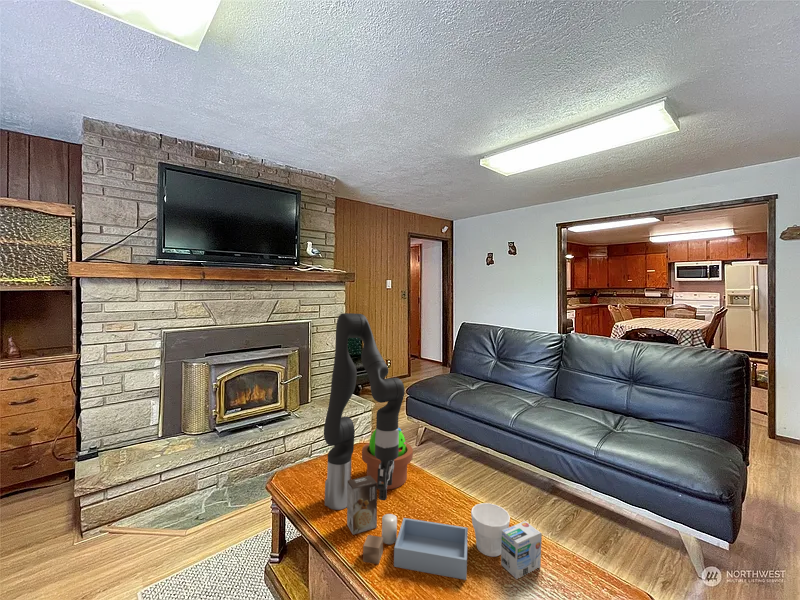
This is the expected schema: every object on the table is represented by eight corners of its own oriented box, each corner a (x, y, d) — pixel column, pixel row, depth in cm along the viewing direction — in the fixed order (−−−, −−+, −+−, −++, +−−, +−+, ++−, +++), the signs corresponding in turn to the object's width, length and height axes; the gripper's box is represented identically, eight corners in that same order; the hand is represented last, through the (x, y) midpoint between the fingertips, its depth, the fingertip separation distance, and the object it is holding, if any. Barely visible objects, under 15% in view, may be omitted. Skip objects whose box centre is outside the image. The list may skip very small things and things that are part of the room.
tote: (393, 566, 106) (394, 547, 106) (403, 534, 120) (403, 517, 120) (466, 579, 102) (466, 560, 101) (467, 545, 116) (467, 527, 116)
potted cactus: (351, 479, 155) (352, 423, 155) (385, 462, 172) (386, 411, 171) (387, 499, 141) (389, 437, 140) (421, 478, 157) (422, 423, 157)
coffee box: (370, 517, 129) (371, 474, 129) (377, 528, 123) (378, 482, 123) (346, 524, 125) (347, 479, 124) (352, 535, 119) (353, 488, 119)
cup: (503, 567, 106) (504, 531, 106) (464, 551, 113) (465, 517, 113) (513, 543, 117) (514, 510, 117) (477, 529, 124) (478, 498, 123)
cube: (363, 561, 108) (363, 545, 108) (367, 550, 113) (368, 534, 112) (378, 564, 107) (379, 548, 107) (382, 552, 112) (383, 537, 111)
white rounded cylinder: (380, 542, 116) (380, 522, 116) (383, 533, 121) (384, 512, 121) (394, 545, 115) (395, 524, 115) (397, 535, 120) (398, 515, 120)
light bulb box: (516, 580, 102) (517, 543, 102) (499, 564, 108) (500, 530, 108) (541, 567, 107) (542, 532, 107) (524, 553, 113) (525, 520, 113)
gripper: (380, 431, 119) (379, 479, 119) (369, 449, 105) (368, 503, 105) (402, 433, 118) (401, 481, 118) (394, 452, 104) (392, 506, 104)
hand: (385, 491), depth 112 cm, fingers open, 8 cm apart
